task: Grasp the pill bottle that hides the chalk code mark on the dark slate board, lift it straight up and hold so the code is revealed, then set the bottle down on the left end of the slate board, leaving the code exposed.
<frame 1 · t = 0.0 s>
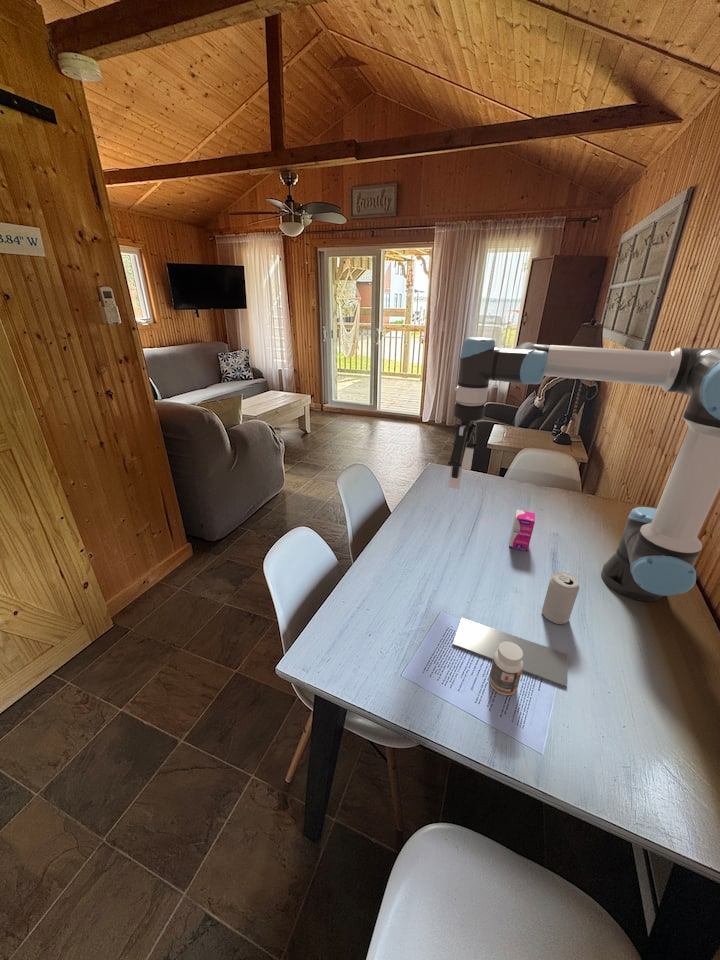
hand: (460, 477, 108), 28 cm above the table, fingers open, 13 cm apart
pill bottle: (502, 684, 82), on the table
beverage can: (554, 616, 100), on the table
slate board: (508, 650, 90), on the table
supplement box: (518, 545, 128), on the table
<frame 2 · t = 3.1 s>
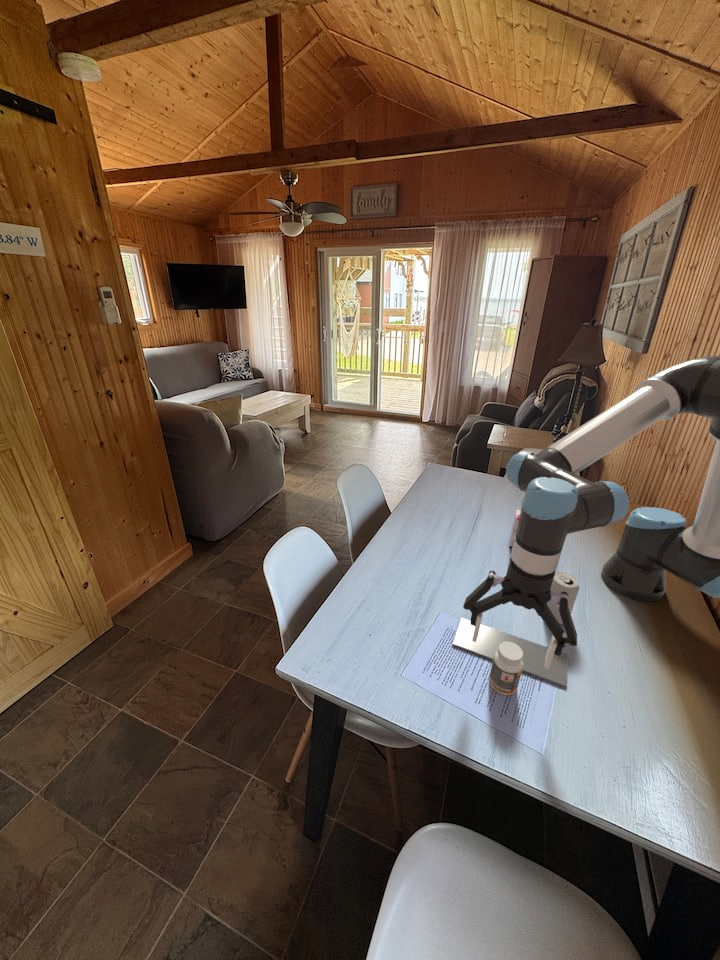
hand: (510, 649, 78), 10 cm above the table, fingers open, 13 cm apart
nothing on the table moved.
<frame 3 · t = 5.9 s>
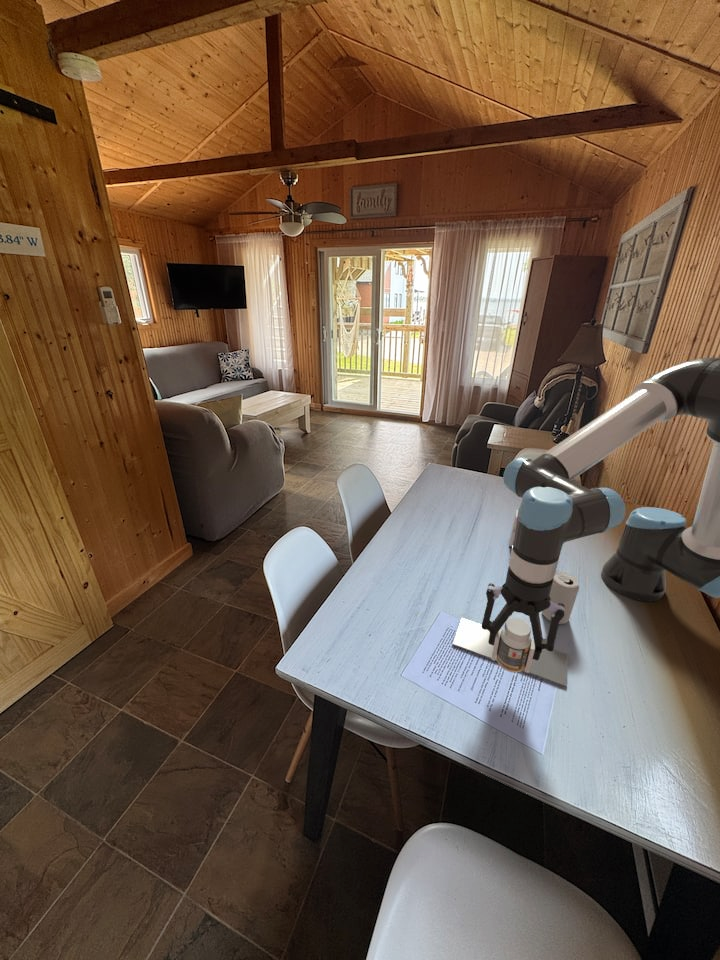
hand: (510, 660, 80), 7 cm above the table, fingers closed on pill bottle, 6 cm apart
pill bottle: (510, 662, 80), point 6 cm above the table, touching gripper
everything else where it was.
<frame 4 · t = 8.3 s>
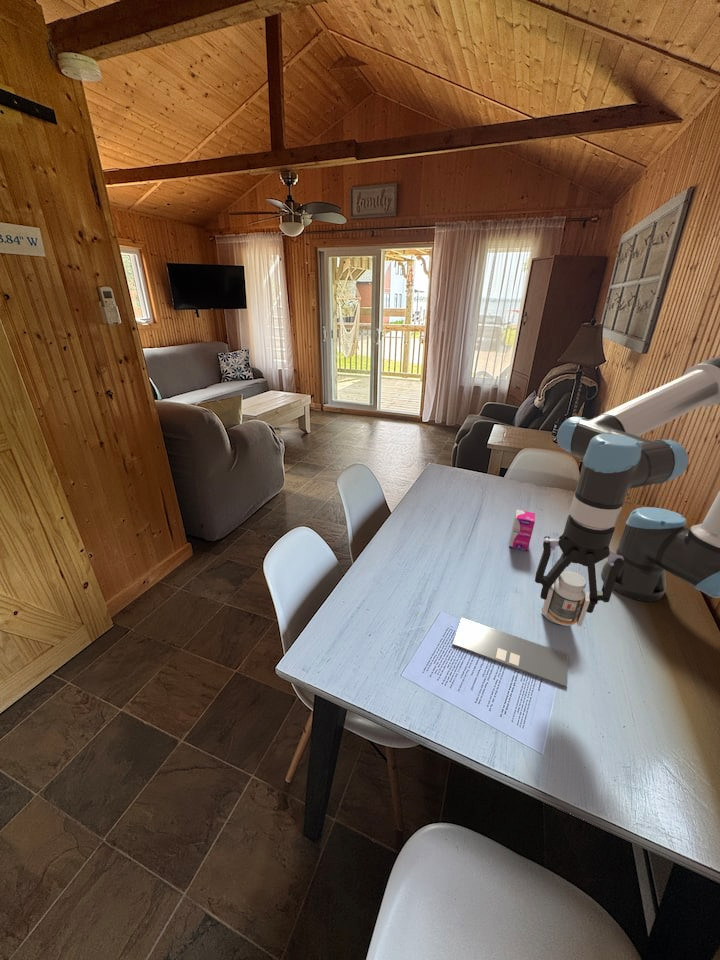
hand: (561, 615, 80), 14 cm above the table, fingers closed on pill bottle, 6 cm apart
pill bottle: (561, 617, 81), point 14 cm above the table, touching gripper
everything else where it was.
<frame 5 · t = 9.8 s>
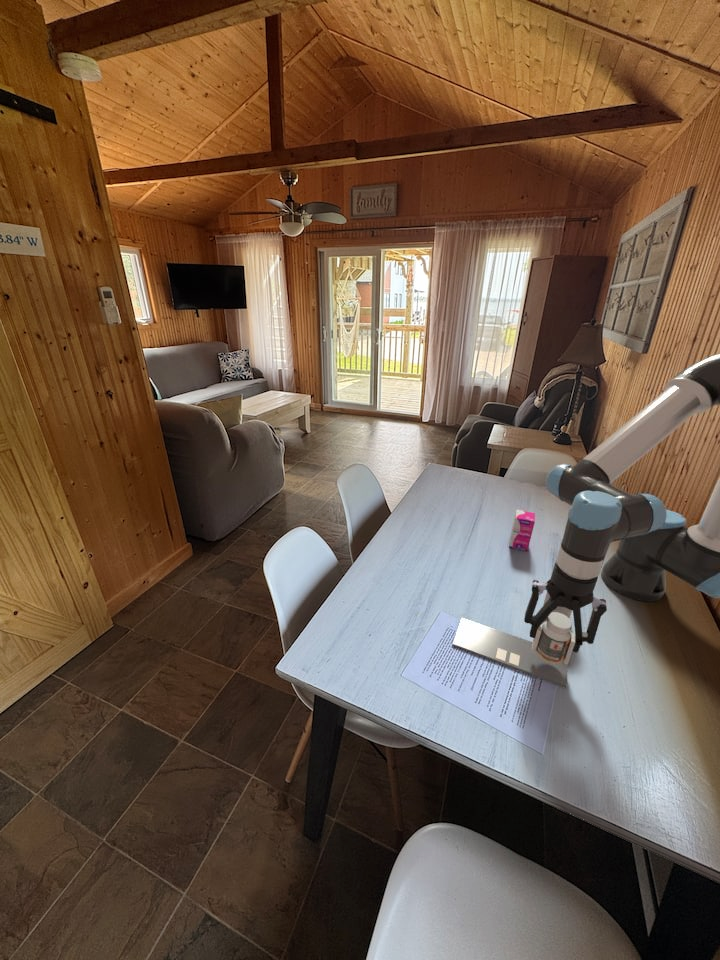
hand: (549, 653, 85), 3 cm above the table, fingers closed on pill bottle, 6 cm apart
pill bottle: (548, 654, 85), point 3 cm above the table, touching gripper
everything else where it was.
when the fingers open (2 cm above the table, at t = 10.8 s): pill bottle stays where it is, resting on slate board.
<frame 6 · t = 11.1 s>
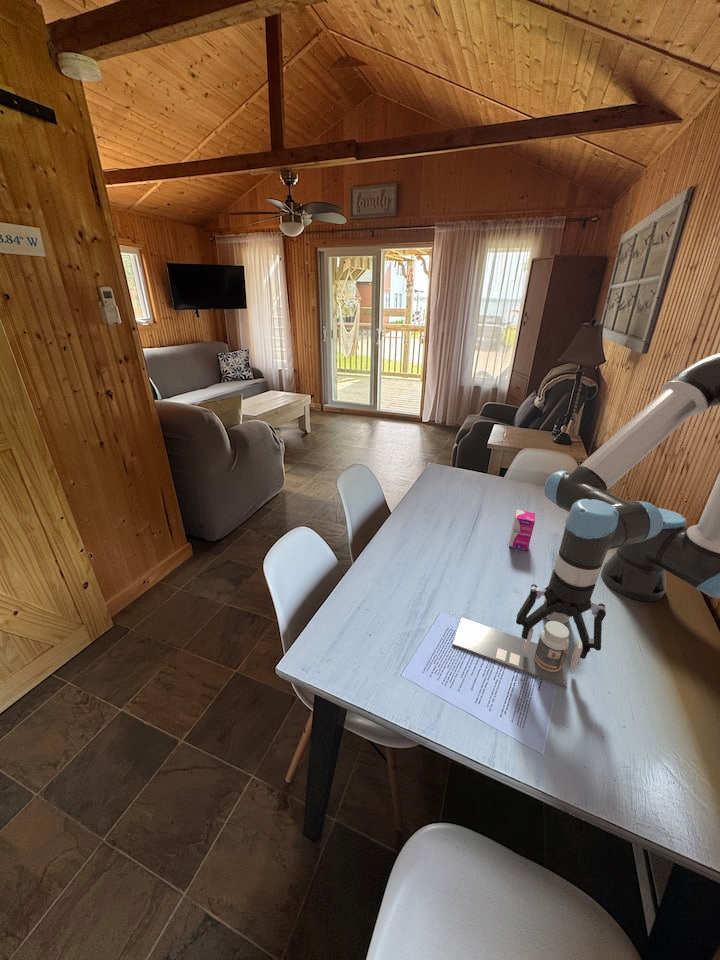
hand: (548, 656, 86), 2 cm above the table, fingers open, 9 cm apart
pill bottle: (547, 662, 87), resting on slate board
everything else where it was.
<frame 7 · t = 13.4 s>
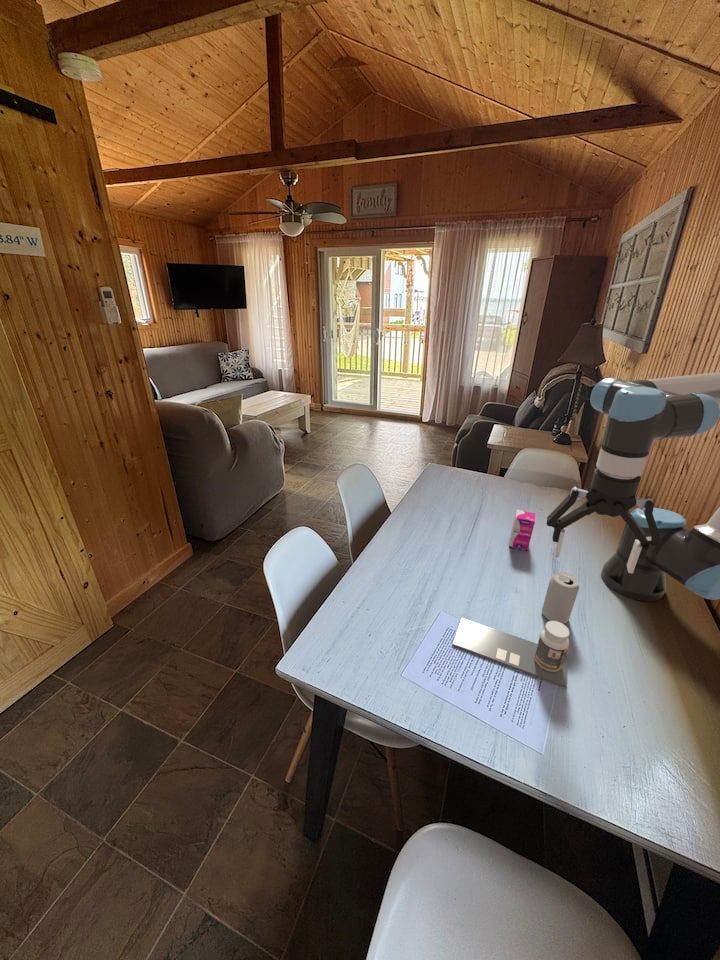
hand: (592, 561, 83), 23 cm above the table, fingers open, 13 cm apart
nothing on the table moved.
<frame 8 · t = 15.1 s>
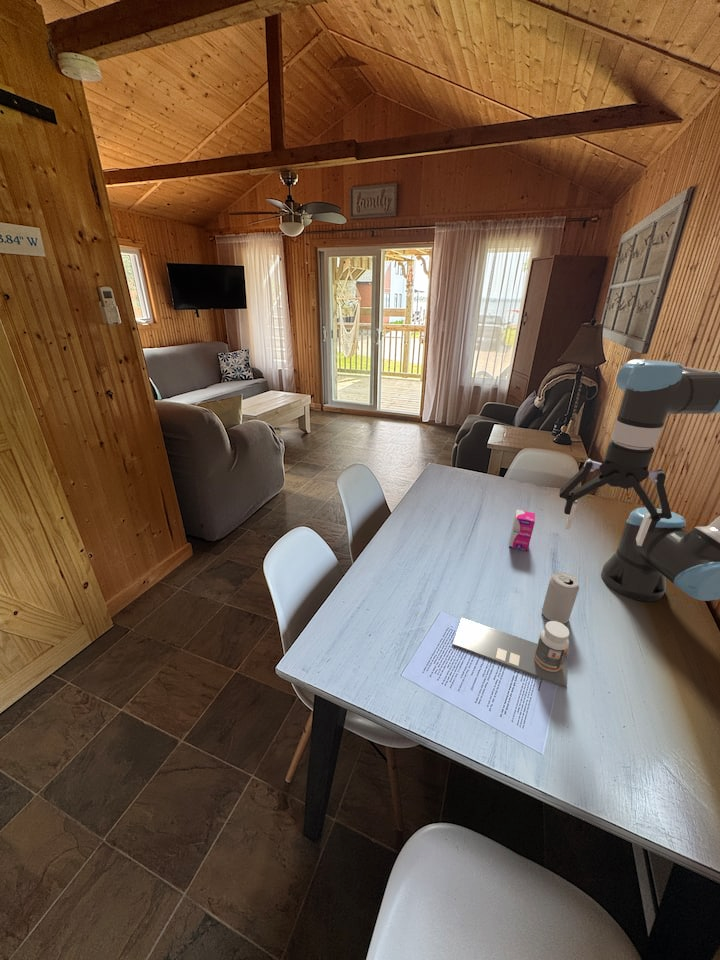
hand: (601, 534, 86), 27 cm above the table, fingers open, 13 cm apart
nothing on the table moved.
at the end: pill bottle inside the target area on the slate board (0.9 cm from its centre), point 0.4 cm above the slate board's base; pill bottle tilted 0°; the gripper is holding nothing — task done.
